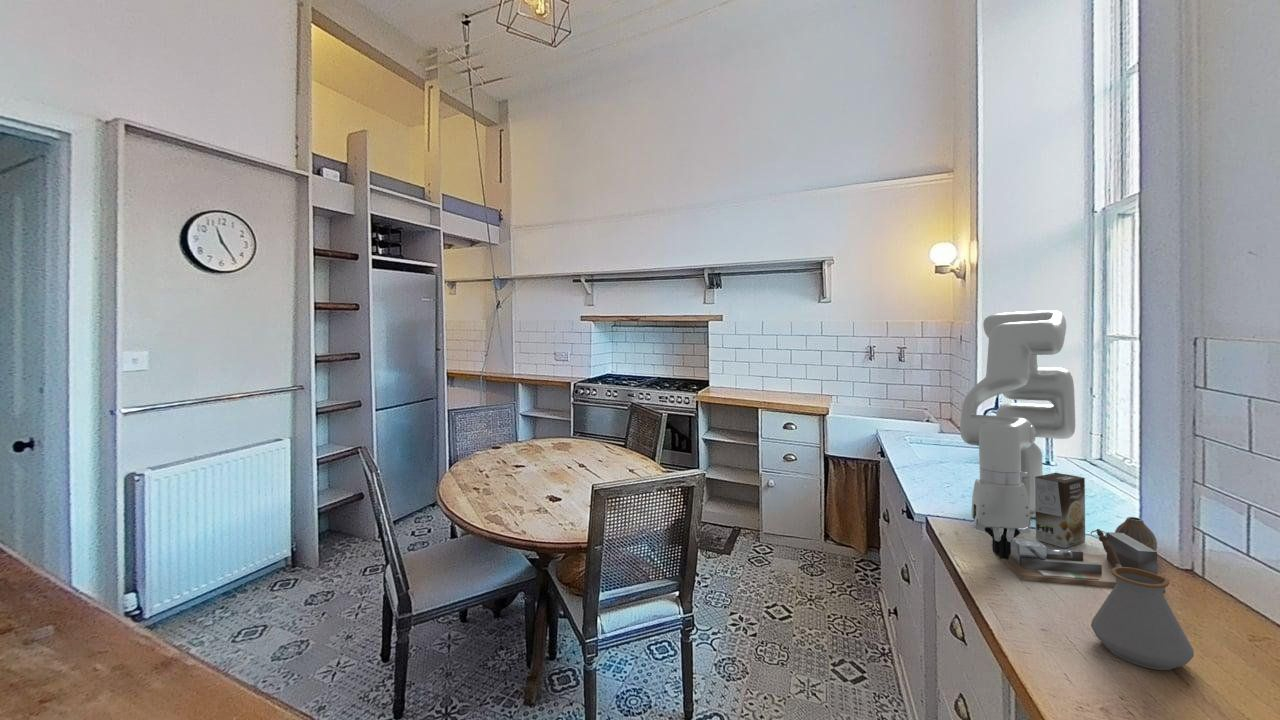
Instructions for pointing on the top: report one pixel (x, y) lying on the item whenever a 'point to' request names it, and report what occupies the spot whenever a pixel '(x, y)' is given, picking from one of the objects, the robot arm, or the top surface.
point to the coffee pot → (1140, 619)
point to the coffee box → (1060, 509)
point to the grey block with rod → (1034, 550)
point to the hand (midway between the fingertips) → (1001, 556)
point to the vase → (1138, 532)
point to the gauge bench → (1088, 564)
